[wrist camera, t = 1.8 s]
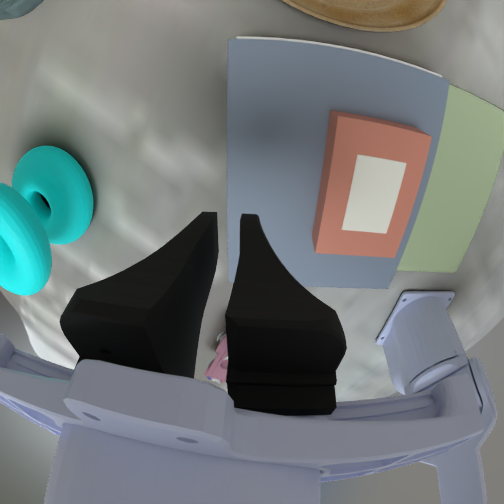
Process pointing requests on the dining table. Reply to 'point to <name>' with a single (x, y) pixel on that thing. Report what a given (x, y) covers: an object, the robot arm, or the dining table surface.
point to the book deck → (313, 143)
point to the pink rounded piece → (219, 361)
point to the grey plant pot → (16, 8)
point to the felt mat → (456, 184)
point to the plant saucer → (372, 12)
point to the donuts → (40, 216)
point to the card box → (367, 185)
